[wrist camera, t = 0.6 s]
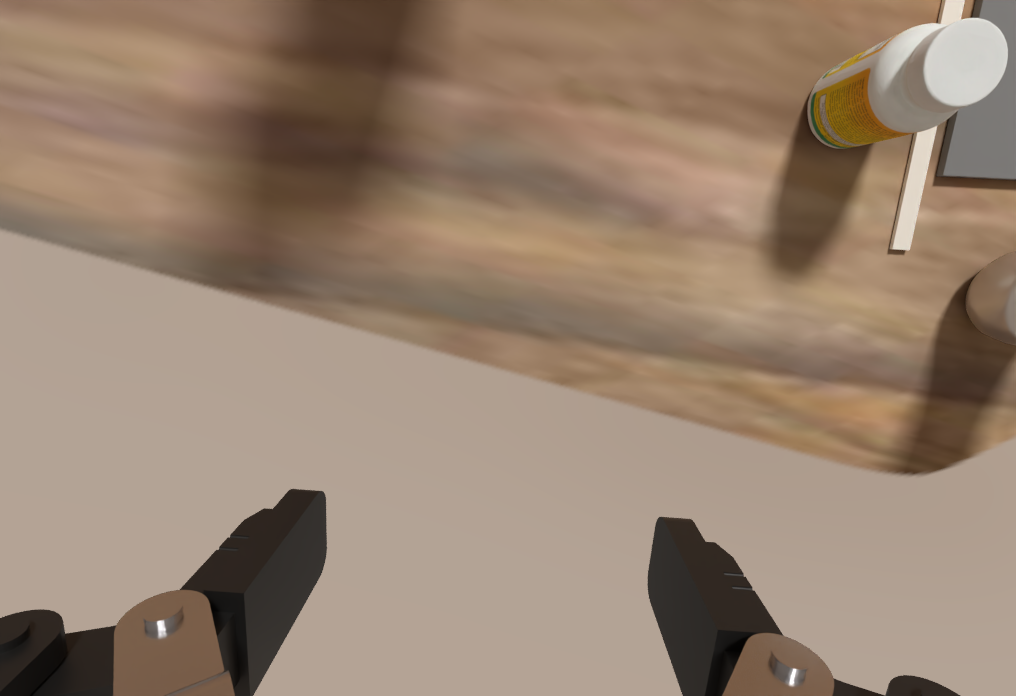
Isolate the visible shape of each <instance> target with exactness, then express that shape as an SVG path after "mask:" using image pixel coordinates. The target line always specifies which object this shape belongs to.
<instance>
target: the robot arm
mask: <svg viewBox="0 0 1016 696" xmlns="http://www.w3.org/2000/svg"><path fill="white" fill-rule="evenodd" d="M326 539H327V538H326V497H325V494H324V492H323V491H312V490H297V489H291V490H289V491H288V492H287V493H286V494H285V496H284V497H283V498H282V499H281V500H280V501H279V503H278V504H277V505H276V506H275V507H274V508H273V509H263V510H261V511H259V512H257V513H256V514H254V515H252V516H250V517H249V518H247V519H245V520H244V521H243V522H242V523H241V524H240V525H239V526H238V527H237V528H236V530H235V531H234V532H233V533H232V534H231V536H230V538H227V539H226V540H225V541H224V542H223V543H222V545H221V546H220V547H219V550H216V551H215V552H214V553H213V554H212V555H211V557H210V558H209V559H208V560H207V561H206V562H205V563H204V564H203V565H202V566H201V567H200V568H199V569H198V570H197V572H196V573H195V574H194V575H193V576H192V577H191V578H190V579H189V580H188V581H187V582H186V583H185V585H184V586H183V587H182V588H181V589H180V590H176V591H170V592H166V593H162V594H159V595H156V596H153V597H151V598H149V599H146V600H144V601H143V602H141V603H139V604H137V605H136V606H134V607H133V608H132V609H130V610H129V611H128V612H127V613H126V614H125V615H124V616H123V617H122V618H121V619H120V620H119V622H118V623H117V625H116V626H111V627H105V628H99V629H92V630H86V631H80V632H74V633H67V634H65V631H64V625H63V620H62V617H61V616H60V615H59V614H58V613H56V612H54V611H50V610H30V611H24V612H19V613H15V614H11V615H8V616H5V617H2V618H0V696H253V695H254V693H255V691H256V690H257V688H258V686H259V684H260V682H261V681H262V679H263V677H264V675H265V673H266V672H267V670H268V668H269V666H270V665H271V663H272V661H273V659H274V658H275V656H276V654H277V652H278V650H279V649H280V647H281V645H282V643H283V641H284V639H285V638H286V636H287V634H288V633H289V631H290V629H291V627H292V625H293V624H294V622H295V620H296V618H297V616H298V615H299V613H300V611H301V610H302V608H303V606H304V604H305V602H306V600H307V599H308V597H309V595H310V593H311V592H312V590H313V588H314V586H315V585H316V583H317V581H318V579H319V577H320V575H321V573H322V570H323V567H324V563H325V559H326V550H327V546H326V545H327V540H326ZM648 593H649V599H650V602H651V606H652V608H653V611H654V614H655V617H656V620H657V623H658V626H659V628H660V631H661V634H662V637H663V640H664V643H665V646H666V648H667V651H668V654H669V657H670V660H671V663H672V666H673V668H674V672H675V674H676V677H677V680H678V683H679V686H680V689H681V692H682V694H683V696H884V695H881V694H878V693H875V692H872V691H869V690H866V689H863V688H859V687H856V686H853V685H850V684H847V683H844V682H841V681H838V680H836V679H834V678H833V676H832V673H831V671H830V670H829V668H828V667H827V665H826V664H825V663H824V662H823V660H822V659H821V658H820V657H819V656H818V655H817V654H815V653H814V652H813V651H811V650H810V649H809V648H807V647H806V646H804V645H803V644H801V643H799V642H797V641H795V640H793V639H791V638H788V637H785V636H783V634H782V633H781V631H780V630H779V628H778V627H777V625H776V623H775V622H774V620H773V619H772V617H771V616H770V614H769V613H768V611H767V609H766V608H765V606H764V605H763V603H762V602H761V600H760V599H759V597H758V595H757V594H756V592H755V591H753V590H752V586H751V585H750V583H749V582H748V580H747V578H746V577H744V576H743V572H742V571H741V569H740V568H739V566H738V564H737V563H736V561H735V560H734V558H733V557H732V556H731V555H730V554H728V553H727V552H726V551H725V550H723V549H722V548H721V547H720V546H719V545H717V544H716V543H714V542H705V540H704V539H703V537H702V536H701V533H700V532H699V530H698V528H697V527H696V525H695V523H694V522H693V520H691V519H681V518H669V517H668V518H667V517H659V518H658V520H657V522H656V526H655V532H654V538H653V545H652V551H651V558H650V564H649V571H648ZM885 696H960V695H958V694H957V693H955V692H953V691H951V690H950V689H948V688H946V687H944V686H942V685H940V684H938V683H935V682H933V681H930V680H927V679H924V678H920V677H915V676H907V675H904V676H898V677H895V678H893V679H892V680H891V681H890V683H889V686H888V689H887V692H886V695H885Z"/></svg>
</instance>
